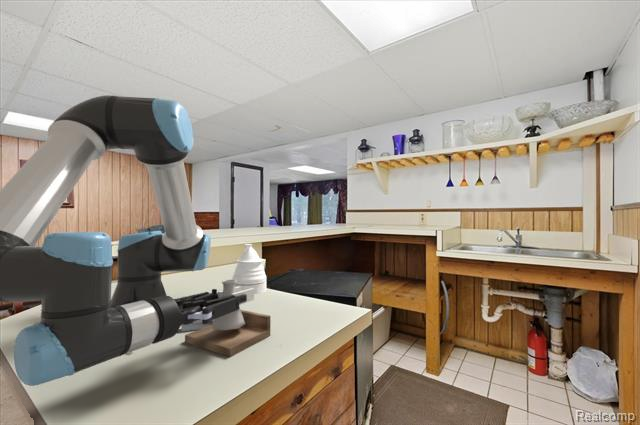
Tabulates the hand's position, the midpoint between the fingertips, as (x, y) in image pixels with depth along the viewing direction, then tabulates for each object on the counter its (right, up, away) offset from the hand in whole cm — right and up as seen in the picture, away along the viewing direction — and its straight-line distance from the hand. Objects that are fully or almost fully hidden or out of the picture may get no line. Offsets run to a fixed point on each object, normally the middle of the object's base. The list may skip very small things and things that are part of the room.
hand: (246, 293), depth 69 cm
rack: (-3, -9, -5) cm, 11 cm away
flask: (-3, -6, -5) cm, 8 cm away
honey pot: (-9, -11, +41) cm, 43 cm away
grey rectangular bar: (-11, -10, +2) cm, 15 cm away
